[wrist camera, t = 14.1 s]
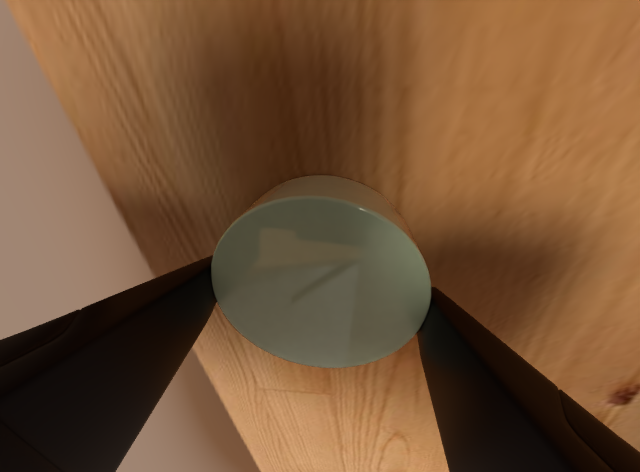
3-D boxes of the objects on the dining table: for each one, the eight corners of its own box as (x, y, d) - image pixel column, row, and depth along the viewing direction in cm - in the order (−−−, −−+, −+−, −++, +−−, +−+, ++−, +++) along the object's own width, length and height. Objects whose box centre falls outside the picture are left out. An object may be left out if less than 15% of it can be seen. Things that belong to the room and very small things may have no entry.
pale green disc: (389, 331, 10) (398, 382, 8) (246, 309, 11) (223, 352, 9) (439, 187, 7) (473, 215, 5) (232, 163, 7) (190, 180, 5)
